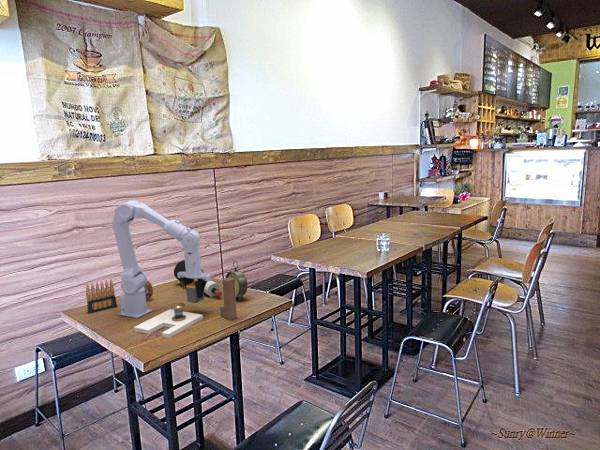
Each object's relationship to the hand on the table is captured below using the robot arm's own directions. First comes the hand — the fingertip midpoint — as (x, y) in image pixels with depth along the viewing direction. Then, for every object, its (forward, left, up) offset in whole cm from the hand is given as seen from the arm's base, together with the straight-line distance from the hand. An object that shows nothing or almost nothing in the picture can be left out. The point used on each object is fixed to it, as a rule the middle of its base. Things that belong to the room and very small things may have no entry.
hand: (195, 297), depth 166 cm
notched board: (-2, -13, -6) cm, 15 cm away
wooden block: (+14, +1, -7) cm, 16 cm away
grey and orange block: (0, 0, -2) cm, 2 cm away
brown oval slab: (-35, +5, -7) cm, 36 cm away
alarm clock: (+6, +19, -7) cm, 21 cm away
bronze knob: (0, -10, -5) cm, 11 cm away
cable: (-16, +23, -7) cm, 29 cm away
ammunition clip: (-39, -11, -7) cm, 41 cm away
